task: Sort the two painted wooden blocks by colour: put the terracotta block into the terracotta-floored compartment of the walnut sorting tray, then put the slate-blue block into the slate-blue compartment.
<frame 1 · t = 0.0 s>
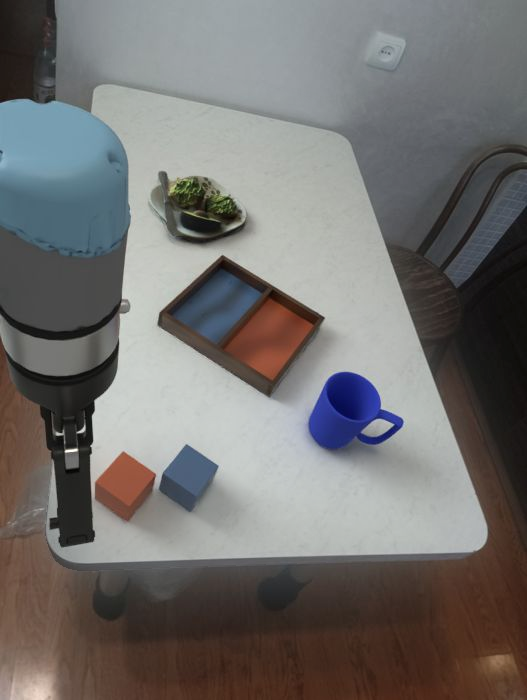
hand: (71, 468, 53), 14 cm above the table, tool pointing down, fingers open, 13 cm apart
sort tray: (242, 326, 89), on the table
mug: (339, 437, 81), on the table
salad plate: (197, 214, 103), on the table
blue block: (185, 485, 70), on the table
terracotta block: (124, 494, 67), on the table
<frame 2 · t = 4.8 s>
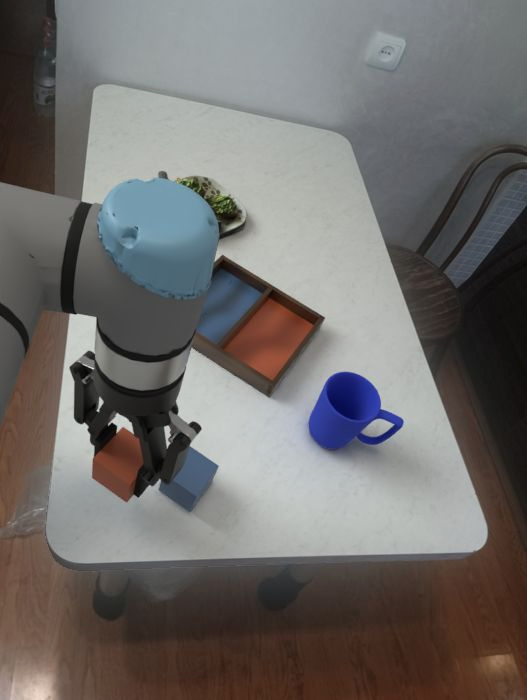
hand: (123, 473, 62), 6 cm above the table, tool pointing down, fingers closed on terracotta block, 5 cm apart
terracotta block: (123, 474, 62), point 6 cm above the table, touching gripper
everything else where it was.
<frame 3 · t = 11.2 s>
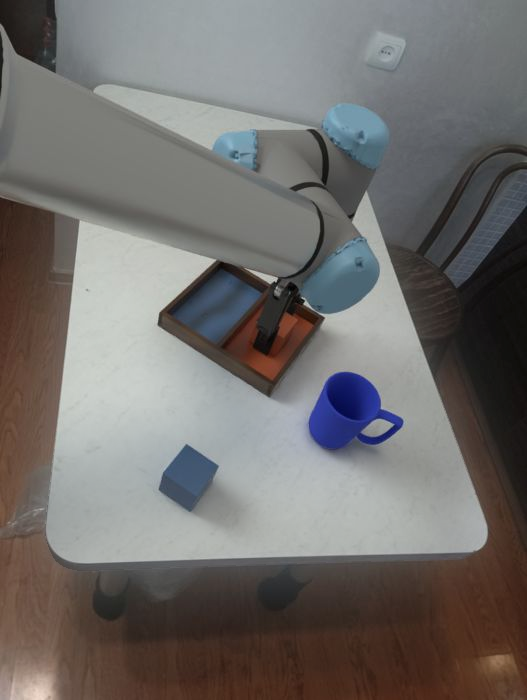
hand: (269, 338, 87), 1 cm above the table, tool pointing down, fingers closed on terracotta block, 5 cm apart
terracotta block: (269, 339, 87), point 1 cm above the table, touching gripper
everything else where it was.
when the fingers open (2 cm above the table, at t = 15.6 s): terracotta block stays where it is, resting on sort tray.
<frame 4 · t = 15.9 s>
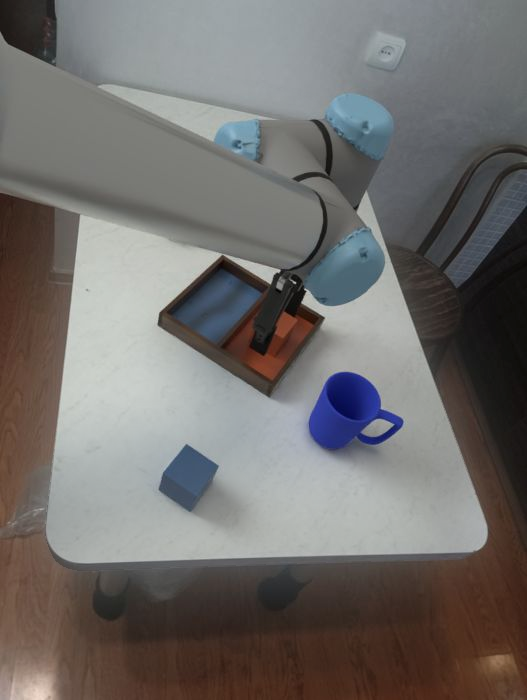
hand: (272, 331, 86), 3 cm above the table, tool pointing down, fingers open, 9 cm apart
terracotta block: (268, 340, 87), point 1 cm above the table, touching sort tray
everything else where it was.
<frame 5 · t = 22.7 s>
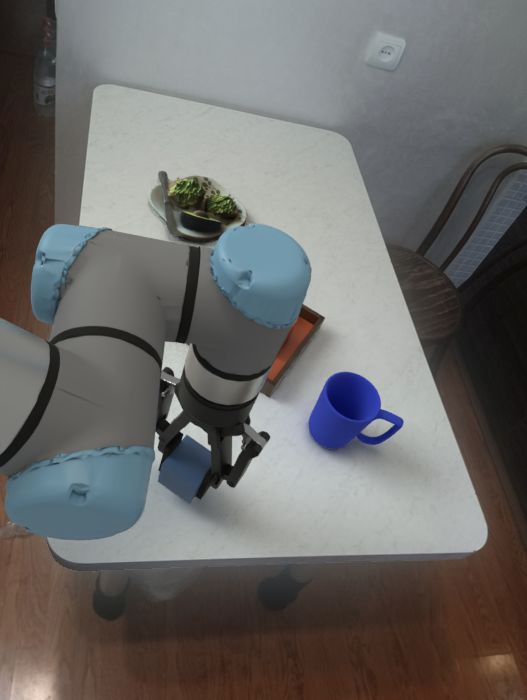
hand: (185, 476, 68), 3 cm above the table, tool pointing down, fingers closed on blue block, 5 cm apart
blue block: (185, 477, 68), point 2 cm above the table, touching gripper
everything else where it was.
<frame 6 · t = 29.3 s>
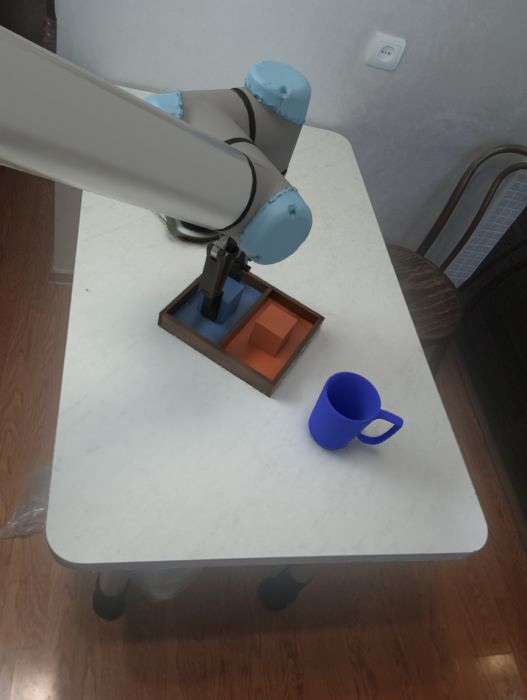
hand: (217, 306, 88), 1 cm above the table, tool pointing down, fingers closed on blue block, 5 cm apart
blue block: (217, 307, 89), point 1 cm above the table, touching gripper
everything else where it was.
when the fingers open (2 cm above the table, at t = 33.6 s): blue block stays where it is, resting on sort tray.
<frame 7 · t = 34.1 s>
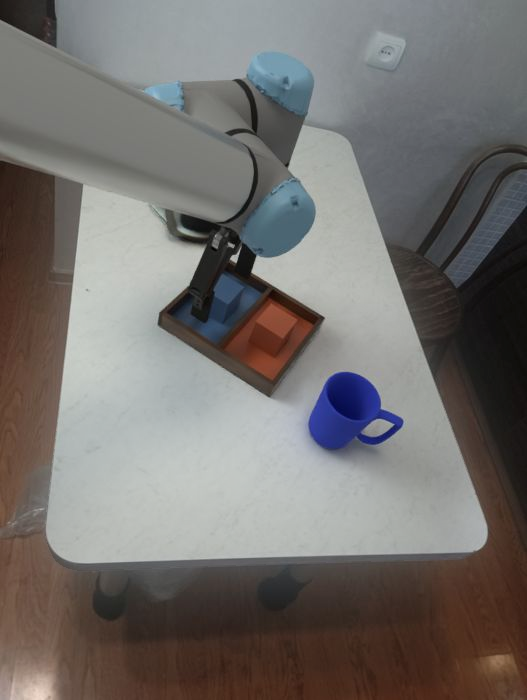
hand: (221, 295, 86), 4 cm above the table, tool pointing down, fingers open, 12 cm apart
blue block: (217, 308, 89), point 1 cm above the table, touching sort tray
everything else where it was.
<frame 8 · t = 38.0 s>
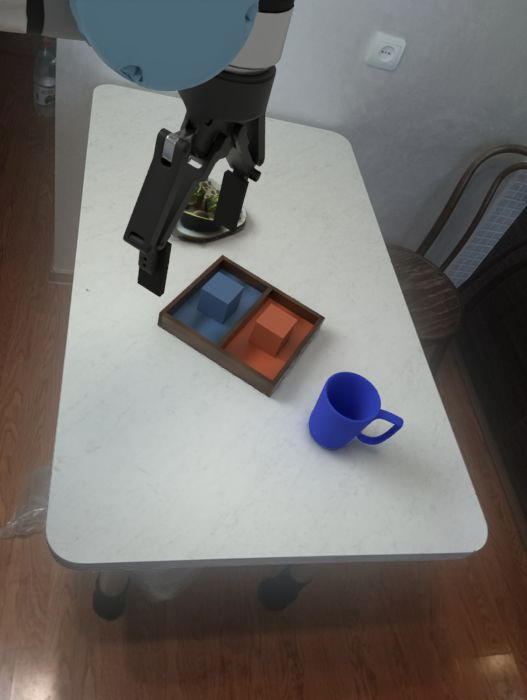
hand: (190, 254, 57), 27 cm above the table, tool pointing down, fingers open, 13 cm apart
nothing on the table moved.
at the end: terracotta block inside the target area on the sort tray (0.1 cm from its centre), point 0.8 cm above the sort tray's base; blue block inside the target area on the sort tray (0.1 cm from its centre), point 0.8 cm above the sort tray's base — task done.
